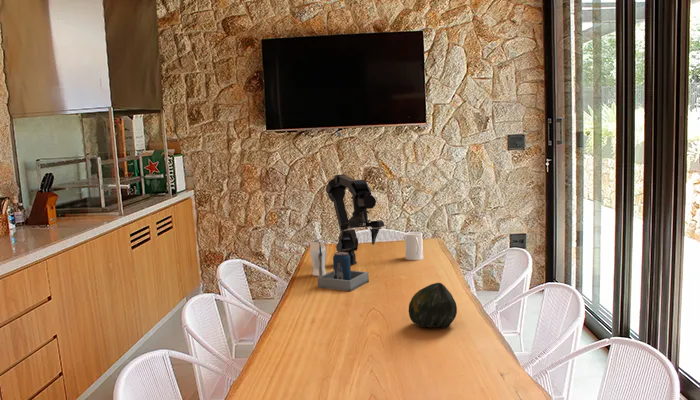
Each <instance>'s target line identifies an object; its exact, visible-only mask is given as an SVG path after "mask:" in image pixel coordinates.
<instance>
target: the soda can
mask: <svg viewBox="0 0 700 400" xmlns="http://www.w3.org/2000/svg"><path fill="white" fill-rule="evenodd" d="M333 254H334V255H333V257H332V264H333V265H332V267H333V270H332V271H334V279H341V280H351V270H352V269H351V266H350V256H349V254H348V252H338V251H336V252H334V253H333Z"/></svg>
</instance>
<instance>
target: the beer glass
mask: <svg viewBox="0 0 700 400" xmlns="http://www.w3.org/2000/svg"><path fill="white" fill-rule="evenodd" d="M309 243H310V244H309V251H310V252H309V253H310V259H311V263H312V274H311V275H312V277H313V276H314V277H320V276H323V275H325V274H327V270H326V260H327V242H326V239H324V238H315V239H312V240H310V242H309Z"/></svg>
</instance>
